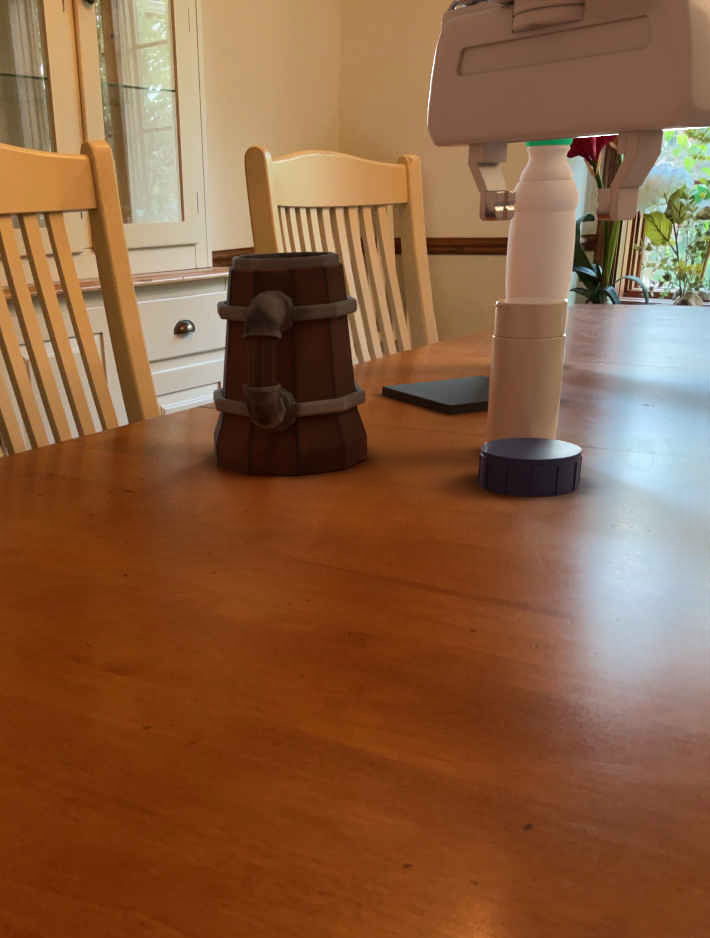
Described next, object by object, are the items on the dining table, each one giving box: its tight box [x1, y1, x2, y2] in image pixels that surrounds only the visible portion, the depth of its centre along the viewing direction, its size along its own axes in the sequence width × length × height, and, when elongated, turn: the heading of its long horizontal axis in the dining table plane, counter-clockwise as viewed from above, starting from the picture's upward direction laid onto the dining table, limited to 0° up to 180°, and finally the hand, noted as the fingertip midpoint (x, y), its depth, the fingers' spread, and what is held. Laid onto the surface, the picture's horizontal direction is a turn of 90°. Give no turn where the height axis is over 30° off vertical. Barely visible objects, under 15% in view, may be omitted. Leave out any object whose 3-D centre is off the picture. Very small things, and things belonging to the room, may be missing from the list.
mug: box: [212, 251, 368, 477], centre depth 76 cm, size 16×12×15 cm
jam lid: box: [477, 438, 583, 498], centre depth 71 cm, size 7×7×3 cm
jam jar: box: [485, 297, 568, 443], centre depth 77 cm, size 5×5×11 cm
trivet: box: [381, 375, 490, 416], centre depth 101 cm, size 12×12×1 cm
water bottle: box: [505, 138, 580, 365], centre depth 113 cm, size 7×7×25 cm
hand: (552, 220), depth 65 cm, fingers open, 8 cm apart
